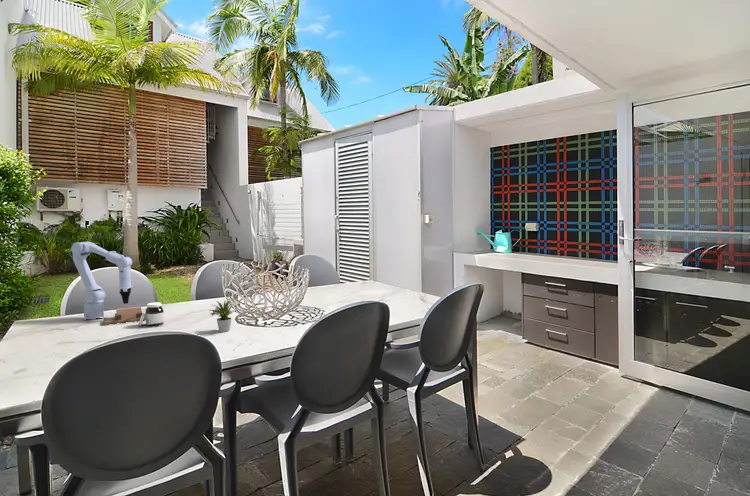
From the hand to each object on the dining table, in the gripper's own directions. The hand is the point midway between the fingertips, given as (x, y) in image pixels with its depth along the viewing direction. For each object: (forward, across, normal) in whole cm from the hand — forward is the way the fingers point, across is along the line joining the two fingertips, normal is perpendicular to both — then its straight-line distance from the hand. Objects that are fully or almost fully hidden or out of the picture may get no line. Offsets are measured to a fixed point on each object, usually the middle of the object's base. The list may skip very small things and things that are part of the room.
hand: (125, 302), depth 240 cm
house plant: (+9, -54, -44) cm, 70 cm away
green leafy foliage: (+10, 0, -58) cm, 58 cm away
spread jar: (+9, -24, -12) cm, 28 cm away
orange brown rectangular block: (+8, -6, -2) cm, 10 cm away
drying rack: (+9, -6, -1) cm, 11 cm away
